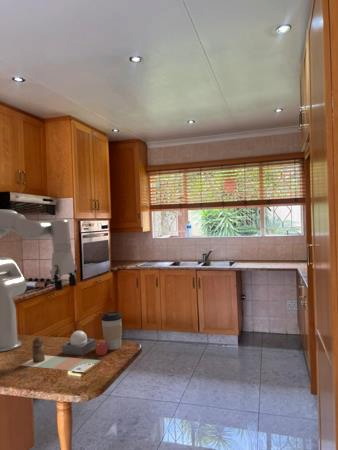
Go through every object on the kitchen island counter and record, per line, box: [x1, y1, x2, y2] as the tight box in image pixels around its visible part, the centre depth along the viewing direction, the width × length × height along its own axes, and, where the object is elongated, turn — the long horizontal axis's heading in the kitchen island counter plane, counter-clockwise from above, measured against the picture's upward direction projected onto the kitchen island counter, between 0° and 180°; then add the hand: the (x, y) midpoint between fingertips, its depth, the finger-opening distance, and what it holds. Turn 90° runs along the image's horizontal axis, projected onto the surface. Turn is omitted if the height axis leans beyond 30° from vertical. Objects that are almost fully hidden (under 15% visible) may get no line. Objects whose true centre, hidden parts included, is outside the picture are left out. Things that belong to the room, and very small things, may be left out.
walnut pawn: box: [31, 337, 45, 363], centre depth 141 cm, size 4×4×9 cm
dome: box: [69, 330, 88, 346], centre depth 151 cm, size 7×7×7 cm
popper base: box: [61, 338, 97, 356], centre depth 151 cm, size 10×10×4 cm
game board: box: [20, 354, 103, 374], centre depth 138 cm, size 30×11×1 cm, turn 70°
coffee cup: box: [100, 311, 123, 351], centre depth 155 cm, size 9×9×15 cm
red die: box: [95, 341, 108, 356], centre depth 147 cm, size 4×4×4 cm
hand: (66, 287), depth 152 cm, fingers open, 9 cm apart
